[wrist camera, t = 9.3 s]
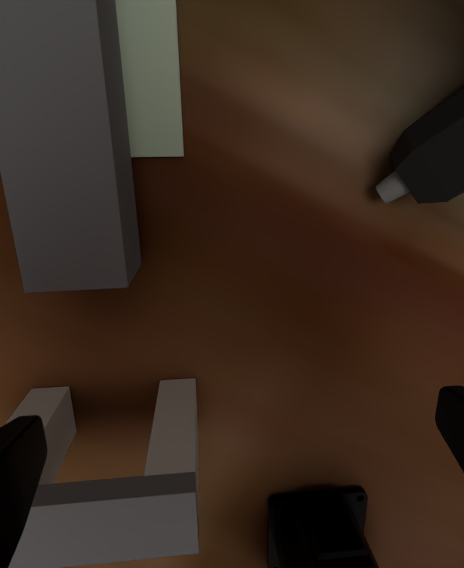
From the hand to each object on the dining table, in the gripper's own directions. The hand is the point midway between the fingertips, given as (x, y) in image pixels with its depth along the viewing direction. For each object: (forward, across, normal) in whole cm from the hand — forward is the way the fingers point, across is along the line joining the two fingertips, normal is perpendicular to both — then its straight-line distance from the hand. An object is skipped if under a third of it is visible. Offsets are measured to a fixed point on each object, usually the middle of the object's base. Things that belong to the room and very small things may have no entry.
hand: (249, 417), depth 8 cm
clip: (+12, +6, +8) cm, 15 cm away
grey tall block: (+12, +6, -8) cm, 15 cm away
